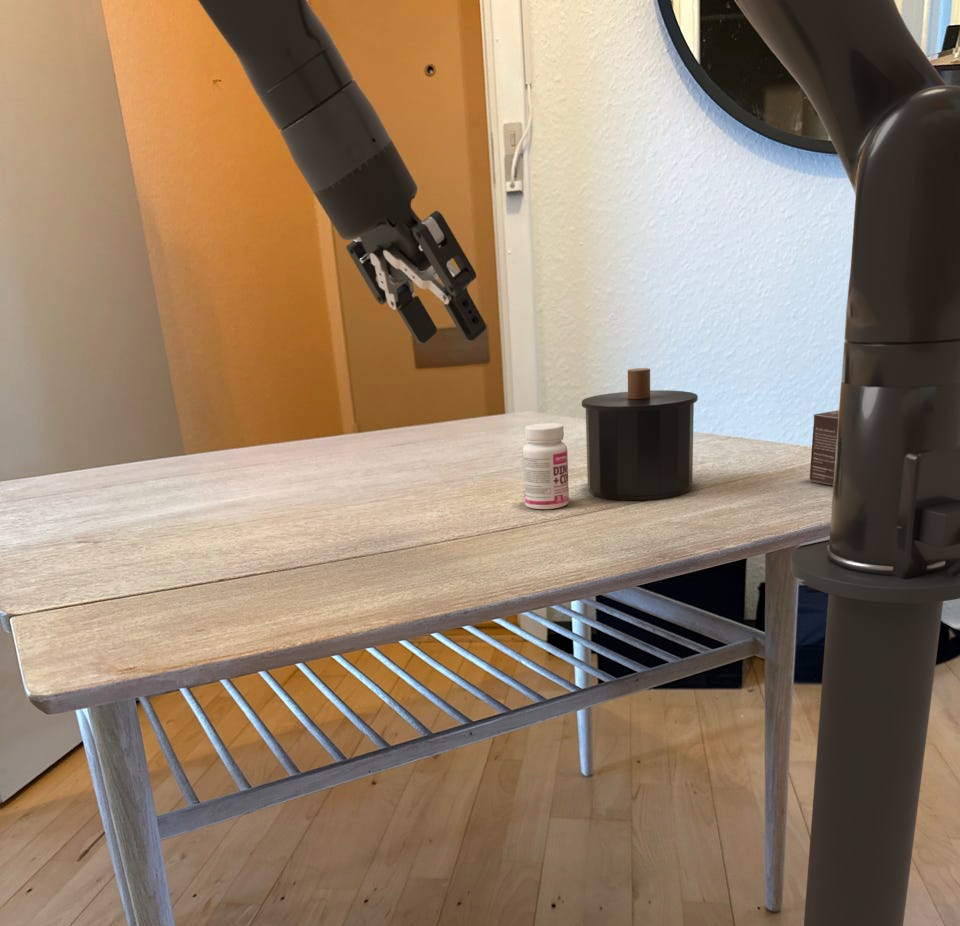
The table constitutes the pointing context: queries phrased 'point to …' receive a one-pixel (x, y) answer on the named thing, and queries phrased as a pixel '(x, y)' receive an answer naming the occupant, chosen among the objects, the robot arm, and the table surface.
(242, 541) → the table surface
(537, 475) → the pill bottle
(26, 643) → the table surface
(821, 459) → the box
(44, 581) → the table surface
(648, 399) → the pot lid
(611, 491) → the pot
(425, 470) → the table surface
